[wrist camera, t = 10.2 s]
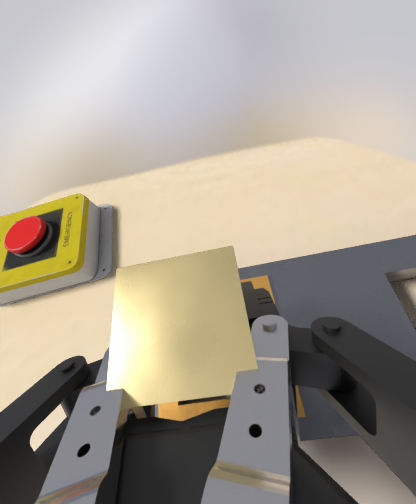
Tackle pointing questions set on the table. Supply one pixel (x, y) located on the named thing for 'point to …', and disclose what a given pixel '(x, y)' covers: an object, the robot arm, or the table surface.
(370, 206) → the table surface
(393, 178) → the table surface
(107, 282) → the table surface
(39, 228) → the emergency button
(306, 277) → the peg board
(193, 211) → the table surface
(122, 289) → the brass peg
